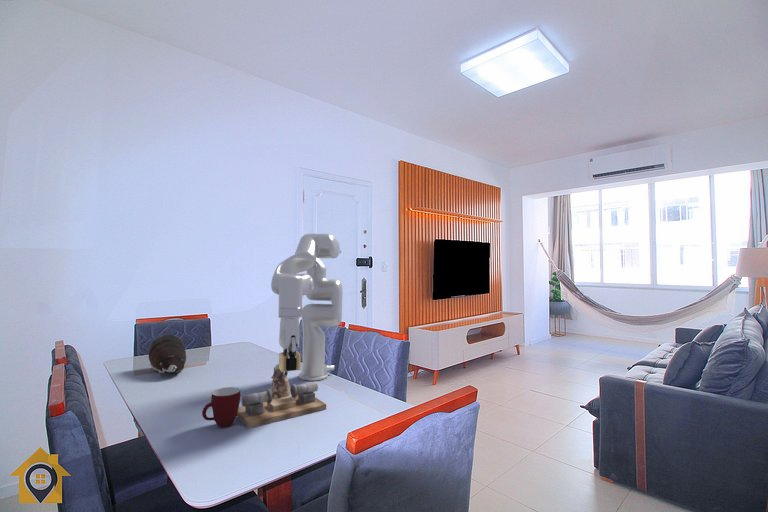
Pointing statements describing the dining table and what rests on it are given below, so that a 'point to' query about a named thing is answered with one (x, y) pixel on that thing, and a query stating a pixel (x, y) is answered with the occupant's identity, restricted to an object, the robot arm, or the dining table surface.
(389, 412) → the dining table surface
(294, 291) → the robot arm
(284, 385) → the figurine
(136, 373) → the dining table surface
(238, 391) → the mug
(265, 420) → the shaft jig
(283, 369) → the block
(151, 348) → the clay pot
